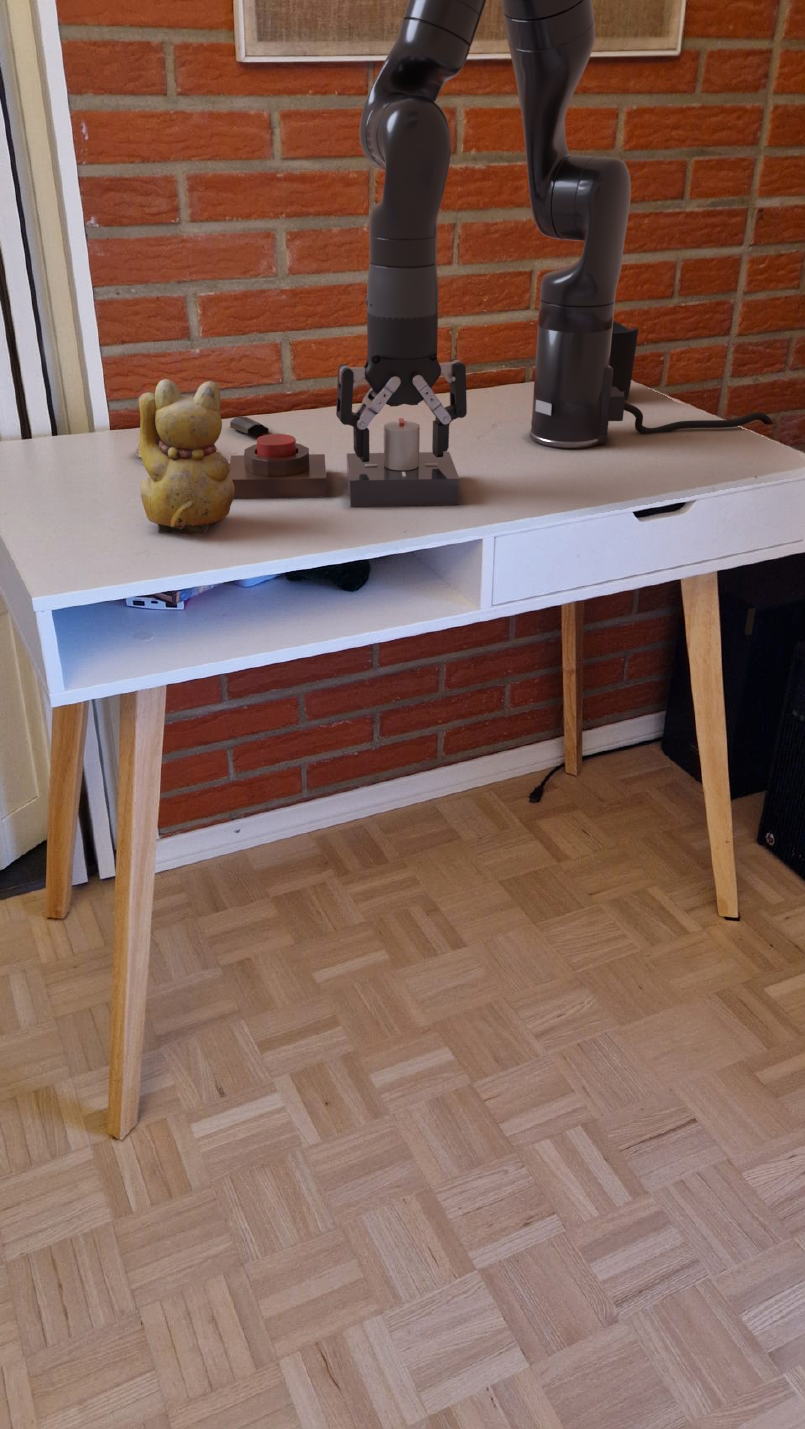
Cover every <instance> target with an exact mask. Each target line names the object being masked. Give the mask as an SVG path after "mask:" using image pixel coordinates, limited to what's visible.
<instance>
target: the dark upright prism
mask: <svg viewBox="0 0 805 1429" xmlns="http://www.w3.org/2000/svg"><path fill="white" fill-rule="evenodd" d="M639 328H640V327H634V328H631V329H630V328H627V327H626V326H624V325H622V324H621V323H619V322H617V321H615V320H613V329H612V340H611V350H610V362H609V365H610V366H611V367H612V368H613V379H612V387H616V388H617V389H618V390H619V391H620V392H621V393H622V394H623V395H624V396H625V401H626V400H627V399H628V398H629V396H630V392H631V385H632V379H633V372H634V364H635V357H636V349H637V344H638V336H639Z"/></svg>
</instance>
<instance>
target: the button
mask: <svg viewBox="0 0 805 1429" xmlns="http://www.w3.org/2000/svg"><path fill="white" fill-rule="evenodd" d="M296 440H297V439H296V437H295V436H293V435H290V434H286V433H270V434H269V433H268V434H263V435H261V436H258V438H256V444H257V455H259V456H263V457H269V458H283V457H288V456H293V455H295V454H296V443H297V441H296Z"/></svg>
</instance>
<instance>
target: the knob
mask: <svg viewBox="0 0 805 1429" xmlns="http://www.w3.org/2000/svg"><path fill="white" fill-rule="evenodd" d="M420 431H421V426H420V424H419V423H418V422H414V421H409V420H405V418H404V417H399V418H398V420H394V421H393V420H392V421H388V422H386V423H384V424H383V453H384V466H385V467H386V468H388V469H391V470H399V471H405V470H412V469H416V468H418V467H419V452H420V445H421V444H420V442H421V440H420V438H421V436H420V435H421V432H420Z"/></svg>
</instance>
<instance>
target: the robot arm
mask: <svg viewBox="0 0 805 1429" xmlns="http://www.w3.org/2000/svg"><path fill="white" fill-rule="evenodd" d="M486 2H487V0H408V1H407V4H406V7H405V10H404V14H403V15H402V16H403V17H402V20H401V22H400V26H399V31H398V35H397V37H396V40H395V42H394V43H393V46H392V48H391V49H390V51H389V53H388V55H387V56H386V58H385V60H384V62H383V64H382V65H381V68H380V70H379V72H378V74H377V76H376V78H375V81H374V82H373V84H372V86H371V88H370V90H369V92H368V94H367V97H366V100H365V102H364V104H363V109H362V111H361V116H360V121H359V130H358V131H359V132H358V133H359V135H358V136H359V137H358V138H359V144H360V147H361V151H362V153H363V154H364V157H365V158H366V159H367V160H368V162H369V163H370V164H371V165H373V166H374V167H376V168H378V169H380V170H382V171H384V181H383V189H382V198H381V200H380V201H379V202H376V203H375V205H374V206H373V207H372V208H371V210H370V214H369V222H368V225H369V226H368V261H369V263H368V273H367V281H366V297H365V305H366V332H367V333H366V337H367V338H366V341H367V342H366V343H367V346H366V347H367V348H366V350H367V351H366V352H367V357H366V362H365V364H364V366H349V365H348V364H346V363H342V364H340V365H339V366H338V367H337V385H336V409H335V410H336V411H335V416H336V417H337V418H338V420H339V422H340V423H341V424H342V425H344V426H351V427H352V428H353V430H352V432H353V433H352V434H353V451H354V453H355V454H356V455H357V456H358V457H360V460H361V461H362V462H369V453H370V429H369V428H368V426H369V425H370V424H371V422H372V421H373V419H374V418H375V417H376V416H377V415H378V414H379V413H380V412H381V411H382V410H383V408H384V407H385V405H387V406H389V407H391V408H392V407H399V406H402V405H407V406H418V405H419V404H420V403H421V402H424V404H425V405H426V406H427V407H428V409H429V410H430V411H431V413H432V414H433V416H435V418H434V419H435V420H432V443H431V444H432V446H431V448H432V449H431V452H433V454H434V455H435V456H436V457H443V453H444V452H448V449H449V447H450V445H449V441H450V424H451V423H452V422H453V421H454V420H456V419H464V418H465V417H466V416H467V413H468V404H467V403H468V402H467V367H466V365H465V364H464V363H463V362H462V361H461V360H459V359H457V358H451V359H450V360H449V361H445V362H439V360H438V334H439V333H438V332H439V330H438V329H439V276H438V263H437V262H438V218H439V213H440V209H441V206H442V203H443V198H444V193H445V188H446V184H447V178H448V173H449V169H450V163H451V154H452V137H451V130H450V125H449V124H450V123H449V122H448V117H447V116H446V114H445V112H444V110H443V109H442V107H441V106H440V105H439V104H438V103H437V102H436V101H437V99H438V97H439V94H440V92H441V90H442V88H443V87H444V85H445V83H447V82H448V81H450V80H452V79H453V78H455V77H457V76H458V75H459V74H460V73H461V72H462V69H463V68H464V66H465V63H466V61H467V58H468V57H469V53H470V51H471V48H472V45H473V41H474V39H475V36H476V33H477V30H478V27H479V24H480V21H481V18H482V14H483V13H484V12H483V11H484V8H485V6H486ZM500 5H501V10H502V11H501V12H502V17H503V23H504V28H505V35H506V40H507V45H508V49H509V54H510V58H511V63H512V68H513V73H514V77H515V84H516V91H517V96H518V103H519V108H520V114H521V122H522V130H523V131H522V132H523V139H524V140H523V141H524V152H525V164H526V174H527V185H528V196H529V204H530V209H531V214H532V215H531V216H532V218H533V222H534V224H535V226H536V228H537V230H538V232H539V233H540V234H542V235H543V236H545V237H547V238H550V239H556V240H564V241H575V242H583V247H582V252H581V254H580V258H579V259H578V260H577V261H575V262H574V263H573V264H570V265H569V266H566V267H563V268H559V269H555V270H552V271H548V272H547V273H545V274H544V275H543V276H542V278H541V280H540V286H539V300H538V301H539V302H538V317H537V333H536V334H537V335H536V347H535V348H536V349H535V363H534V364H535V365H534V381H533V395H532V411H531V412H532V413H531V421H530V422H531V424H530V425H531V426H530V427H531V428H530V429H529V430H530V431H529V432H530V433H529V437H530V439H531V440H532V441H533V442H535V443H538V444H540V445H543V446H547V447H553V448H560V449H582V448H590V447H594V446H598V445H607V440H608V432H609V431H608V430H609V422H623V421H624V412H628V413H631V414H632V415H633V416H634V417H635V421H634V428H635V430H636V431H637V432H638V433H639V434H641V435H651V434H652V435H653V434H663V433H668V432H669V433H670V432H673V431H678V430H683V429H722V428H723V429H724V428H725V429H726V428H736V427H741V426H743V425H746V424H749V423H751V422H753V421H760V422H762V423H763V424H764V425H767V426H770V425H771V426H772V425H774V422H773V420H772V419H771V417H770V416H769V415H767V414H766V413H764V412H760V411H756V412H752V413H749V414H747V415H745V416H742V417H738V418H734V419H715V420H714V419H711V420H709V419H705V420H703V419H702V420H701V419H700V420H697V419H695V420H680V421H675V422H671V423H667V424H663V425H660V426H655V427H647V426H644V425H643V422H644V413H643V412H642V411H641V409H639V408H638V407H637V406H635V405H633V404H631V403H628V402H627V401H626V400H625V396H624V395H623V394H622V393H621V392H620V391H619V390H618V389H617V388H616V387H612V379H613V368H612V367H611V366H610V365H609V362H610V350H611V340H612V329H613V321H614V317H615V305H616V298H617V297H616V296H617V289H618V285H619V280H620V276H621V272H622V266H623V257H624V250H625V249H624V248H625V241H626V235H627V227H628V222H629V215H630V207H631V199H632V198H631V197H632V183H631V182H632V181H631V174H630V171H629V168H628V165H627V164H626V163H625V161H623V160H622V159H620V158H617V157H610V156H594V155H593V156H592V155H575V154H571V153H570V151H569V148H568V144H567V143H568V142H567V136H566V117H567V112H568V109H569V107H570V103H571V100H572V98H573V96H574V93H575V91H576V89H577V87H578V85H579V83H580V81H581V79H582V77H583V75H584V73H585V70H586V68H587V65H588V63H589V61H590V58H591V55H592V52H593V48H594V45H595V40H596V23H595V14H594V5H593V0H500ZM441 375H443V378H444V380H445V381H447V382H448V384H449V405H447V406H444V405H443V404H442V402H441V400H440V399H439V398H438V396H437V395H436V394H435V392H434V391H433V390H432V388H433V387H434V385H435V384H436V382H437V381H438V379H439V378H440V377H441ZM362 379H364V380H365V381H366V382H367V383H368V385H369V387H370V388H369V390H368V391H367V393H366V394H365V396H364V397H363V399H362V402H361V403H360V405H359V407H358V408H357V410H356V411H355V412H353V399H354V398H353V397H354V389H357V388H358V387H359V385H360V381H361V380H362ZM755 614H756V607H753V608H751V607H748V610H747V615H746V623H745V629H744V634H745V635H746V636H751V635H753V634H752V633H753V627H754V620H755Z"/></svg>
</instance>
